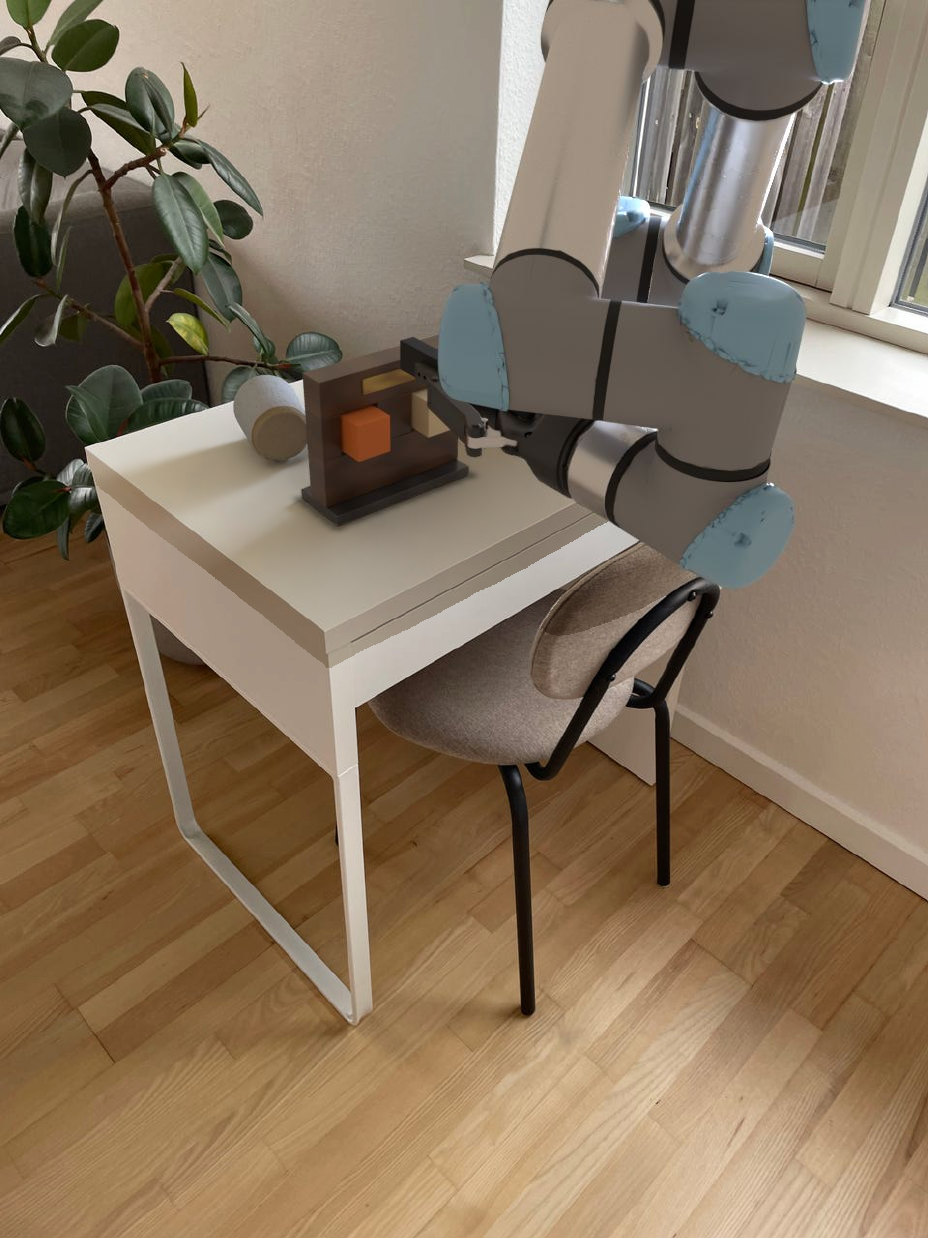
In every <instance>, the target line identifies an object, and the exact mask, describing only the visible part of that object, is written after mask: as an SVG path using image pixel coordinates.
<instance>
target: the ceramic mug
mask: <svg viewBox="0 0 928 1238" xmlns="http://www.w3.org/2000/svg"><path fill="white" fill-rule="evenodd" d="M232 408H233V415H234V418H235V420H236V422H237V423H238V425H239V427H240V429H241V431H242V432H243V434H244V435H245V437H246V439H247V441H248V443H249V445H250V446H251V447H252V449H253V450H254V451H255V452H256V453H257V454H258V455H260V456H261V457H263V458H265V459H267V460H270V461H275V462H276V461H277V462H279V461H286V460H289V459H292V458H295V457H297V456H298V455H299V454H301V453H302V452H303V450H304V449H305V448H306V446H308V445H307V431H306V417H305V408H304V407H303V406H302V403H301V401H300V399H299V397H298V395H297V393H296V391H295V390H294V388H293V387H292V385H291V384H289V383H288V382H287V381H286V380H285V379H284V378H281V377H279V376H276V375H272V374H261V375H257V376H254V377H252V378H249V379H248V380H246V381H245V382H243V384H241V386H239V388H238V389H237V391H236V393H235V396H234V398H233V402H232Z"/></svg>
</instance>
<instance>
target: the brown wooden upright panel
mask: <svg viewBox="0 0 928 1238" xmlns="http://www.w3.org/2000/svg"><path fill="white" fill-rule="evenodd" d="M420 340H421V341H422V342H424V343H426V344H428V345H430V346H432V347H434V348H436V349H438V343H439V334H435V335H433V336H430V337H429V336H428V337H425V338H422V339H420ZM302 387H303V388H302V389H303V401H304V410H305V417H306V431H307V445H306V446H307V457H308V471H309V484H310V485H309V486H305V487H303V488H301V489H300V494H301V499H302V500H303V501H305V502H306V503H307V504H308V505H309V506H311V507H312V508H314V509H315V510H316V511H317V512H319V513H320V514H321V515H323V516H324V517H326V519H327V520H330V522H332V523H333V524H335V526H337V527H340V526H342V525H345V524H347V523H350V522H352V521H355V520H358V519H360V518H363V517H365V516H368V515H370V514H374V513H375V512H378V511H380V510H383V509H387V508H388V507H391V506H394V505H395V504H399V503H402V502H403V501H406V500H409V499H412V498H414V497H417V496H420V495H421V494H424V493H427V492H430V491H432V490H434V489H437V488H439V487H442V486H445V485H447V484H450V483H452V482H455V481H457V480H460V479H463V478H465V477H467V476H469V472H470V466H469V465H468V464H466V463H464V462H463V461H461V460H459V459H458V458H459V457H458V456H459V438H458V437H457V436H456V435H455V434H454V433H453V432H452V431H451V430H449V431H446V432H443V433H440V434H437V435H435V436H432V437H429V438H428V437H427V436H425V435H423V434H422V433H420V432H419V431H417V430H415V429H414V428H412V427H411V392H413V391H416V390H419V389H422V388H425V387H427V386H425V385H424V384H421V383H420V382H418V381H416V379H415V377H413V376H411V375H410V374H408V373H406V372H404V371H403V370H401V369H400V345H396V346H393V347H390V348H386V349H382V350H379V351H375V352H371V353H368V354H364V355H360V356H358V357H353V358H350V359H346V360H343V361H339V362H336V363H331V364H329V365H325V366H322V367H318V368H314V369H311V370H307V371H303V372H302ZM371 404H372V405H373V406H375V407H377V408H378V409H380V410H381V411H383V412H385V413H386V414H388V415H390V451H389V452H386V453H383V454H380V455H378V456H375V457H372V458H369V459H366V460H363V461H360V462H358V461H356V460H355V459H353V458H352V457H351V456H349V455H348V454H346V453H345V452H343V451H342V450H341V434H340V415H339V414H343V413H346V412H349V411H352V410H355V409H358V408H362V407H365V406H368V405H371Z"/></svg>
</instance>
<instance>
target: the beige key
mask: <svg viewBox="0 0 928 1238" xmlns="http://www.w3.org/2000/svg"><path fill="white" fill-rule="evenodd" d="M411 427H412V428H414V429H415V430H417V431H419V432H420V433H422V434H423V435H425V436H427V437H428V438H429V437H432V436H435V435H437V434H440V433H443V432H446V431H449V430H450V429H449V428H448V427H447V426H446V425H445V424H444V423H443V422H442V421H441V420H440V419H439V418H438V417H437V416H436V415H435V414H434V413H433V412H432V411H431V410H430V409H429V408H428V407H427V387H425V388H422V389H419V390H416V391H413V392H411Z"/></svg>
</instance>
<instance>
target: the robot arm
mask: <svg viewBox="0 0 928 1238" xmlns="http://www.w3.org/2000/svg"><path fill="white" fill-rule="evenodd" d="M865 5H866V0H548V3H547V6H546V9H545V13H544V18H543V21H542V24H541V29H540V49H541V55H542V59H543V61H544V63H545V65H544V67H543V68H544V69H543V72H542V76H541V80H540V83H539V87H538V92H537V94H536V99H535V103H534V106H533V110H532V115H531V118H530V122H529V125H528V129H527V134H526V137H525V141H524V145H523V150H522V153H521V157H520V159H519V164H518V168H517V171H516V176H515V180H514V184H513V188H512V191H511V195H510V199H509V202H508V206H507V210H506V215H505V218H504V223H503V226H502V229H501V234H500V237H499V241H498V245H497V249H496V253H495V255H494V260H493V264H492V268H491V271H490V280H489V283H488V282H485V281H480V282H478V283H460V284H457V285H456V286H454V287H453V289H452V291H451V292H450V294H449V295H448V297H447V298H446V300H445V302H444V307H443V311H442V314H441V315H442V316H441V320H440V326H439V333H438V335H439V343H438V349H436V348H434V347H432V346H430V345H428V344H426V343H424V342H422V341H421V339H419V338H417V337H416V336H415V337H414V336H411V337H408V338H407V337H406V338H403V339H400V340H399V346H400V369H401V370H403V371H404V372H406V373H408V374H410V375H411V376H413V377H415V379H416V381H418V382H420V383H421V384H424V385H425V386H427V407H428V408H429V409H430V410H431V411H432V412H433V413H434V414H435V415H436V416H437V417H438V418H439V419H440V420H441V421H442V422H443V423H444V424H445V425H446V426H447V427H448V428H449V429H450V430H451V431H452V432H453V433H454V434H455V435H456V436H457V437H458V440H459V441H461V442H462V444H463V446H464V449H465V453H466V455H467V456H468V457H470V458H480V457H481V456H483V450H484V449H487V448H491V449H492V448H500V449H501V451H502V452H503V453H505V454H506V455H509V456H513V457H516V458H517V457H518V458H520V459H522V460H524V461H525V463H526V465H527V466H528V467H529V469H530V471H531V473H532V474H533V476H534V478H536V480H537V481H539V482H540V483H542V484H544V485H545V486H547V487H549V488H550V489H552V490H553V491H556V493H558V494H560V495H562V496H563V497H566V498H567V499H572V500H573V501H574V502H575V503H576V504H579V505H580V506H582V507H583V508H585V509H587V510H589V511H590V512H593V513H594V514H595V515H597V516H599V517H600V518H602V519H604V520H606V521H607V522H609V523H610V524H612V525H614V526H615V527H616V528H619V529H620V530H622V531H623V532H625V533H626V534H628V535H630V536H631V537H633V538H635V540H637V541H639V542H641V543H643V544H644V545H646V546H648V547H649V548H651V549H652V550H654V551H655V552H658V553H659V554H661V555H662V556H664V557H665V558H666V559H668V560H670V561H671V562H673V563H674V564H676V565H678V566H679V568H680V569H681V570H684V571H686V572H690V573H692V574H694V575H696V576H698V577H700V578H702V579H703V580H705V581H708V582H710V583H711V584H714V585H717V586H719V587H721V588H723V589H727V590H741V589H744V588H748V587H749V586H750V585H752V584H754V583H755V582H757V581H759V580H760V579H761V578H763V577H764V576H765V575H767V573H768V572H769V571H770V570H771V568H772V567H773V566H775V564H776V563H777V561H778V560H779V559H780V557H781V555H782V554H783V553H784V550H785V549H786V547H787V545H788V543H789V541H790V539H791V537H792V534H793V530H794V527H795V523H796V515H795V510H796V509H795V502H794V500H793V499H792V497H791V496H790V495H789V494H788V493H786V492H785V491H783V490H781V489H780V488H779V487H778V484H774V483H772V482H768V476H769V473H770V468H771V464H772V461H771V458H772V452H773V447H774V444H775V440H776V437H777V433H778V430H779V426H780V423H781V420H782V416H783V413H784V409H785V406H786V403H787V399H788V396H789V393H790V389H791V386H792V383H793V381H794V380H795V379H796V375H797V372H798V369H797V362H798V358H799V354H800V350H801V345H802V340H803V334H804V331H805V326H806V321H807V317H808V309H807V306H806V304H805V300H804V299H803V297H802V295H801V294H800V292H798V290H796V289H795V288H794V287H792V286H791V285H789V284H788V283H786V282H785V281H782V280H779V279H777V278H774V277H771V276H769V275H770V272H771V267H772V263H773V256H774V248H775V237H774V233H773V232H772V231H771V230H770V228H768V227H766V226H764V223H763V220H762V218H761V215H762V213H763V210H764V207H765V204H766V201H767V198H768V195H769V192H770V188H771V186H772V183H773V180H774V178H775V175H776V171H777V169H778V165H779V162H780V159H781V157H782V154H783V151H784V148H785V145H786V142H787V138H788V136H789V133H790V130H791V127H792V124H793V121H794V118H795V115H796V114H797V113H798V112H800V111H802V110H803V109H804V108H805V107H807V106H808V105H809V104H810V103H811V102H813V100H814V99H815V98H816V97H817V95H818V94H819V93H820V91H821V90H822V88H823V86H824V85H832V84H833V83H837V82H839V83H840V82H843V81H846V80H847V79H848V78H849V77H850V76H851V73H852V71H853V67H854V63H855V58H856V55H857V49H858V44H859V39H860V34H861V28H862V23H863V17H864V11H865ZM656 68H661V69H663V68H664V69H669V70H677V71H678V70H679V71H691V72H693V79H694V83H695V85H696V88H697V90H698V92H699V94H700V95H701V97H702V98H703V100H702V105H701V110H700V114H699V119H698V124H697V130H696V135H695V139H694V146H693V150H692V156H691V160H690V166H689V171H688V176H687V180H686V186H685V190H684V197H683V202H682V203H681V204H679V205H678V206H677V207H676V208H675V210H673V211H672V213H671V214H670V216H659V215H650V214H651V209H650V204H649V203H648V201H646V200H644V199H642V198H638V197H637V198H635V197H634V198H633V197H631V196H626V195H625V196H624V195H621V194H622V190H623V186H624V185H623V184H624V180H625V175H626V169H627V164H628V160H629V154H630V148H631V143H632V138H633V133H634V127H635V123H636V118H637V112H638V107H639V103H640V96H641V91H642V87H643V85H644V84H645V83H646V82H647V81H648V80H649V79H650V77H651V76H652V74H653V73H654V71H655V70H656Z"/></svg>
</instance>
